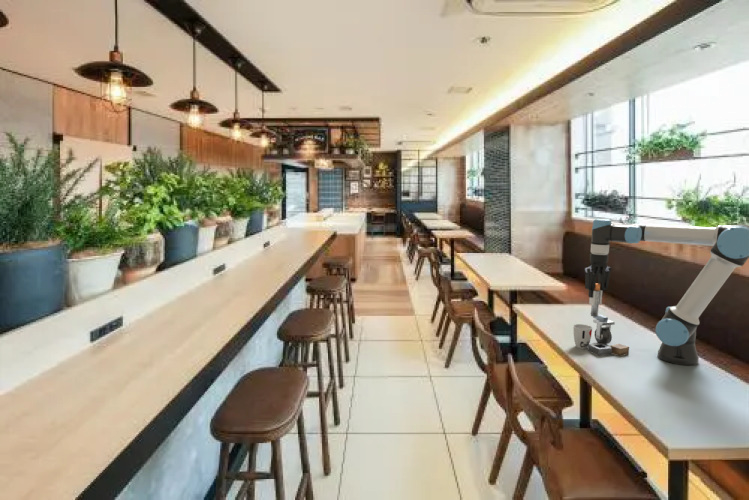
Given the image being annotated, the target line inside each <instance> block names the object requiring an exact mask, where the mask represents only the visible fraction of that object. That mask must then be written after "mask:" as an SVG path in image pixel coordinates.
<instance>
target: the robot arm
mask: <svg viewBox="0 0 749 500" xmlns="http://www.w3.org/2000/svg"><path fill="white" fill-rule="evenodd" d="M612 223H613V222H612V220H611V219H605V218H604V219H603V218H597V219H594V220H593V221H592V228H591V241H590V254H589V262H590V264H589V266H588V267H584V268H583V269H584V274H585V275H584V278H585V279H584V281H585V282H584V287H585V289H586V290H588V298H589V299H588V300H589V301H588V305H595V294H596V291H594V289H595V284H596V282H598V284H600V296H599V306H600V305H602V301H603V297H604V291H606V290H607V289H608V288H609V283H610V277H611V273H612V270H613V267H610V266H608V264H607V263H608V262H609V253H610V243H611V242H614V243H615V242H617V243H624V244H639V243H640V242H653V243H668V244H682V245H697V246H707V247H708V246H709V247H711V249H710V250H709V253H710V255H711V256H710V258H709V260H708V261H707V262H706V264H705V265H704V267H703V268H702V269H701V270H700V272H699V274H698V275H697V276H696V277H695V279H694V281H693V282H692V283H691V285H690V286H689V287H688V289H686V292H685V293H684V295H683V296H682V297H681V299H680V300H679V301H678V303H677V304H676V305H673V306H667V307H666V308H665V311H664V312H665V314H664V316H662V318H661V320H659V321H657V323H656V325H655V335H656V336H657V338H658V340H659V341H660V342H661V344H660V346H659V348H658V350H657V357H658V358H659V359H660V360H661V361H664V362H667V363H671V364H675V365H681V366H696V365H698V364H699V355H698V352H697V348H696V338H697V337H696V336H697V328H698V326H699V325H700V319H699V318H700V317H701V315H702V314H703V312H704V311H705V310H706V308H707V307H708V305H709V304H710V302H711V301H712V300H713V299H714V297H715V296H716V295H717V294H718V292H719V291H720V289H721V288H722V287H723V285H724V284H725V283H726V281H727V280H728V279H729V277H730V276H731V274H732V273H733V272H734V270H735V269H736V268H740V267H743V266H744V265H745V264H746V262H747V261H748V259H749V224H734V225H733V224H731V225H717V226H716V227H708V226H707V227H706V226H689V225H686V226H685V225H684V226H683V225H667V224H666V225H664V224H646V223H636V222H635V223H633V222H632V223H630V224H612Z"/></svg>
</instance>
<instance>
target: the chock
mask: <svg viewBox="0 0 749 500" xmlns="http://www.w3.org/2000/svg"><path fill="white" fill-rule="evenodd" d="M609 347H611V348H612V355H616V356H619V357H621V356H625V355H629V353H630V347H629V346H627V345H624V344H621V343H617V344H616V343H615V344H613V345H610V346H609Z"/></svg>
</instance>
